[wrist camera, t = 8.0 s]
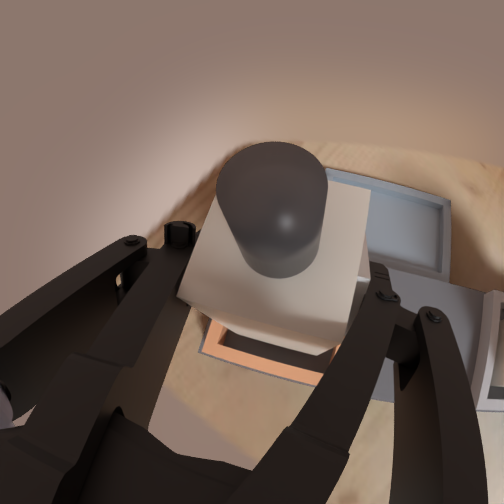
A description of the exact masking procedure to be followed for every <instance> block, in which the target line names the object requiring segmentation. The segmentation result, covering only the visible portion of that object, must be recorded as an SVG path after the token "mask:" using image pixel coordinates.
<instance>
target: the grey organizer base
mask: <svg viewBox="0 0 504 504" xmlns="http://www.w3.org/2000/svg"><path fill="white" fill-rule="evenodd" d="M368 258H369V257H368ZM387 269H388V271H389V276H390V281H391V285H392V290H393V291H394V292H396V293H397V294H398V295H399V297H400V298H401V303H400V306H402V307H403V308H405V309H407V310H409V311H411V312H414V313H416V314H417V313H418V311H419V309H420V308H421V307H424V306H430V307H434V308H438V309H440V310H441V311H442V312H443V313H444V314H445V315H446V316H447V317H448V319H449V321H450V324H451V327H452V330H453V332H454V335H455V338H456V341H457V344H458V347H459V350H460V353H461V357H462V360H463V363H464V367H465V370H466V374H467V377H468V381H469V384H470V388H471V392H472V396H473V400H474V405H475V409H476V411H479V412H504V387H498V386H490V383H491V378H492V373H493V367H494V361H495V355H496V348H497V341H498V332H499V322H500V320H503V319H504V292H502V291H498V290H492V291H490V292H488V293H485V292H481V291H478V290H474V289H470V288H466V287H462V286H458V285H454V284H450V283H447V282H443V281H439V280H435V279H431V278H427V277H423V276H419V275H415V274H411V273H407V272H403V271H399V270H395V269H391V268H387ZM344 338H345V336H344ZM343 340H344V339H343ZM340 345H341V344H339V345H337V346H335V347H333V348H331V349H329V350H327V351H325V352H323V353H321V354H319V355H317V356H316V355H312V354H308V353H304V352H300V351H296V350H292V349H288V348H284V347H281V346H277V345H273V344H270V343H266V342H263V341H259V340H256V339H252V338H249V337H246V336H242V335H239V334H236V333H235V332H233V331H231V330H230V329H228V328H226V327H225V326H223V325H221V324H220V323H218V322H216V321H215V320H213V319H211V318H210V317H209V320H208V323H207V326H206V329H205V332H204V335H203V338H202V341H201V344H200V347H199V350H198V353H201V354H204V355H207V356H209V357H212V358H215V359H218V360H221V361H224V362H227V363H230V364H233V365H236V366H240V367H243V368H246V369H249V370H253V371H256V372H259V373H263V374H266V375H270V376H273V377H277V378H280V379H284V380H288V381H292V382H295V383H299V384H303V385H307V386H311V387H316V386H317V384H318V383H319V381H320V379H321V378H322V376H323V374H324V373H325V371H326V369H327V368H328V366H329V364H330V363H331V361H332V359H333V357H334V356H335V354H336V352H337V350H338V349H339V347H340ZM393 363H394V361H393V360H390V359H388V358H386V357H385V360H384V363H383V366H382V369H381V372H380V374H379V377H378V380H377V383H376V386H375V388H374V391H373V394H372V396H371V399H374V400H379V401H385V402H392V403H394V375H393Z"/></svg>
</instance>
